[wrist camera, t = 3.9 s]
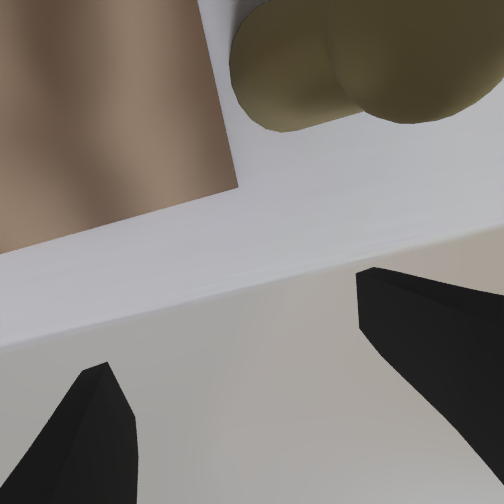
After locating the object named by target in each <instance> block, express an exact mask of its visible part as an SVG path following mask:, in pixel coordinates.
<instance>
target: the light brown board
mask: <svg viewBox="0 0 504 504" xmlns="http://www.w3.org/2000/svg"><path fill="white" fill-rule="evenodd" d="M235 188H238V183H237V179H236V174H235V170H234V165H233V161H232V156H231V152H230V147H229V142H228V138H227V133H226V129H225V124H224V120H223V115H222V111H221V106H220V102H219V97H218V93H217V88H216V84H215V79H214V75H213V70H212V66H211V61H210V57H209V52H208V48H207V43H206V39H205V34H204V30H203V25H202V21H201V16H200V12H199V7H198V3H197V0H0V254H3V253H6V252H10V251H13V250H17V249H20V248H24V247H28V246H31V245H35V244H38V243H42V242H45V241H49V240H53V239H56V238H60V237H63V236H67V235H70V234H74V233H77V232H81V231H85V230H88V229H92V228H95V227H99V226H102V225H106V224H110V223H113V222H117V221H120V220H124V219H127V218H131V217H135V216H138V215H142V214H145V213H149V212H152V211H156V210H160V209H163V208H167V207H170V206H174V205H177V204H181V203H185V202H188V201H192V200H195V199H199V198H202V197H206V196H210V195H213V194H217V193H220V192H224V191H227V190H231V189H235Z"/></svg>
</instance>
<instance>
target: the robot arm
mask: <svg viewBox="0 0 504 504" xmlns="http://www.w3.org/2000/svg"><path fill="white" fill-rule="evenodd" d="M503 79H504V78H503ZM503 79H502V80H503ZM356 284H357V300H358V315H359V328H360V330H361V331H362V332H363V333H364V335H365V336H366V338H367V339H368V340H369V341H370V343H371V344H372V345H373V346H374V348H375V349H376V350H377V351H378V352H379V354H380V355H381V356H382V357H383V358H384V359H385V360H386V361H387V362H388V363H389V364H390V365H391V366H392V367H393V368H394V369H395V370H396V371H397V372H398V373H400V375H401V376H402V377H403V378H404V379H405V380H406V381H407V382H409V383H410V384H411V385H412V386H413V387H414V388H415V389H416V390H417V391H418V392H419V393H420V394H421V395H422V396H423V397H424V398H425V399H426V400H427V401H428V402H429V403H430V404H431V405H432V406H434V408H436V410H438V411H439V412H440V413H441V414H442V415H443V416H444V417H445V418H446V419H447V420H448V421H449V423H451V425H452V426H453V427H454V428H455V429H456V430H457V431H458V432H459V433H460V434H461V435H462V437H463V438H464V439H465V440H466V441H467V442H468V444H469V445H470V446H471V447H472V448H473V449H474V450H475V452H476V453H477V454H478V455H479V456H480V457H481V458H482V460H483V461H484V462H485V463H486V464H487V465H488V467H489V468H490V469H491V470H492V471H493V473H494V474H495V475H496V476H497V477H498V479H499V480H500V481H501V482H502V483H503V485H504V296H503V295H498V294H493V293H488V292H483V291H478V290H473V289H468V288H464V287H459V286H455V285H451V284H447V283H442V282H438V281H434V280H430V279H426V278H422V277H417V276H413V275H409V274H405V273H401V272H396V271H392V270H387V269H382V268H376V267H372V268H370V269H367V270H364V271H362V272H358V273H356ZM137 481H138V444H137V431H136V421H135V416H134V414H133V412H132V410H131V408H130V406H129V404H128V402H127V400H126V398H125V396H124V394H123V392H122V390H121V388H120V386H119V384H118V382H117V380H116V378H115V376H114V374H113V372H112V370H111V368H110V366H109V364H108V362H105V363H102V364H100V365H97V366H94V367H91V368H88V369H85V370H83V371H82V372H81V373H80V375H79V376H78V377H77V379H76V380H75V382H74V383H73V385H72V386H71V387H70V389H69V391H68V392H67V393H66V395H65V397H64V398H63V400H62V401H61V403H60V404H59V405H58V407H57V408H56V410H55V411H54V413H53V415H52V416H51V417H50V419H49V420H48V422H47V423H46V425H45V426H44V428H43V429H42V431H41V432H40V434H39V435H38V436H37V438H36V439H35V441H34V442H33V444H32V446H31V447H30V448H29V450H28V451H27V452H26V454H25V455H24V456H23V458H22V459H21V460H20V462H19V463H18V465H17V466H16V467H15V469H14V470H13V471H12V473H11V474H10V475H9V477H8V478H7V479H6V481H5V482H4V484H3V485H2V486H1V488H0V504H137Z"/></svg>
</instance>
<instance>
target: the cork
mask: <svg viewBox="0 0 504 504" xmlns="http://www.w3.org/2000/svg"><path fill="white" fill-rule="evenodd" d="M229 67H230V76H231V84H232V87H233V90H234V92H235V95H236V97H237V100H238V102H239V105H240V106H241V107H242V108H243V110H244V111H245V112H246V113H247V115H248V116H249V117H250V118H251V119H252V120H253V121H255V122H256V123H258V124H259V125H261V126H262V127H264V128H265V129H269V130H273V131H277V132H289V131H297V130H300V129H304V128H307V127H311V126H314V125H318V124H321V123H325V122H328V121H332V120H335V119H339V118H342V117H346V116H349V115H353V114H356V113H359V112H363V111H365V112H366V113H368V114H371V115H373V116H375V117H378V118H381V119H385V120H388V121H392V122H395V123H400V124H415V123H423V122H430V121H437V120H440V119H443V118H446V117H449V116H452V115H454V114H456V113H458V112H460V111H462V110H463V109H465V108H467V107H469V106H471V105H473V104H474V103H476V102H477V101H479V100H480V99H481V98H483V97H484V96H485V95H486V94H488V93H489V92H490V91H491V90H492V89H493V88H494V87H495V86H496V85H497V84H498V83H499V82H500V81H501V80H502V79H503V78H504V0H270V1H268V2H266V3H264V4H262V5H260V6H258V7H256V8H255V9H254V10H253V11H252V12H251V13H250V14H249V15H248V16H247V17H246V18H245V19H244V20H243V21H242V23H241V25H240V27H239V29H238V31H237V33H236V35H235V37H234V40H233V42H232V48H231V55H230V61H229Z"/></svg>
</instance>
